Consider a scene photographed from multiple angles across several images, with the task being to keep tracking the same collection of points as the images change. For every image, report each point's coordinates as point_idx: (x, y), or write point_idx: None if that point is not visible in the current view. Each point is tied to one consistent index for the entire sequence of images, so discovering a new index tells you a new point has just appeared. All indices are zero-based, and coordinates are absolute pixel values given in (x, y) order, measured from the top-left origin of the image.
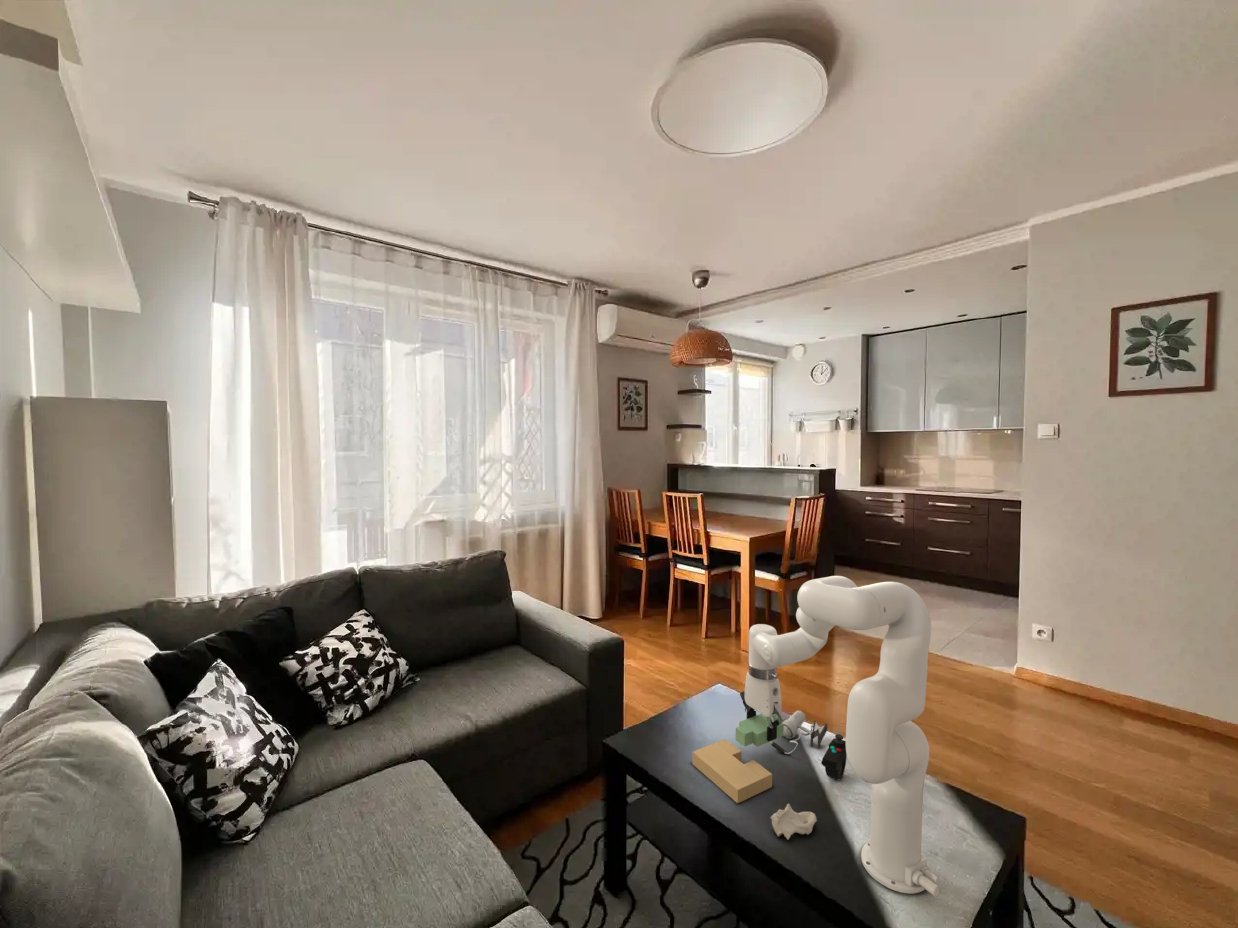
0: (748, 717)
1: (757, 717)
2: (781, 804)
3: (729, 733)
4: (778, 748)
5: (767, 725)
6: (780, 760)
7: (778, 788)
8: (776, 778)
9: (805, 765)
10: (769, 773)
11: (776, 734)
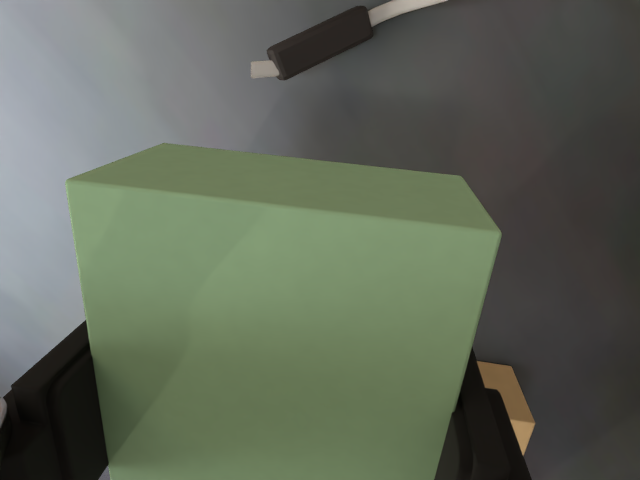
0: (99, 467)
1: (141, 382)
2: (618, 431)
3: (10, 158)
4: (334, 54)
5: (356, 439)
6: (403, 123)
7: (544, 351)
8: (489, 293)
9: (573, 9)
10: (519, 430)
11: (504, 412)
